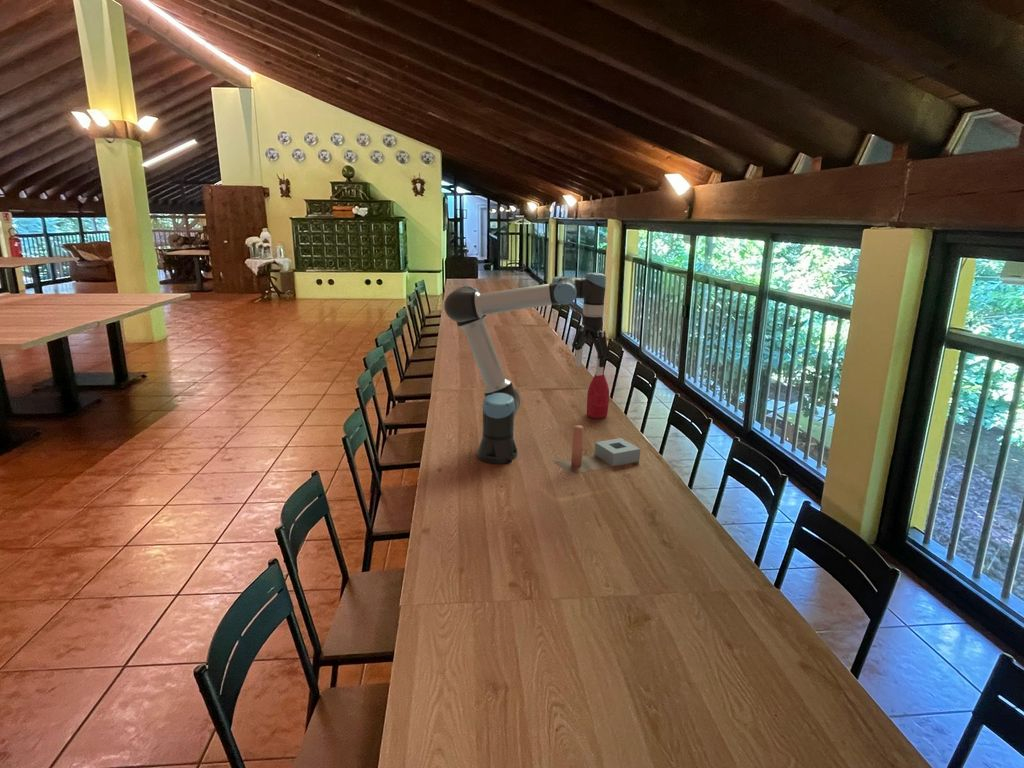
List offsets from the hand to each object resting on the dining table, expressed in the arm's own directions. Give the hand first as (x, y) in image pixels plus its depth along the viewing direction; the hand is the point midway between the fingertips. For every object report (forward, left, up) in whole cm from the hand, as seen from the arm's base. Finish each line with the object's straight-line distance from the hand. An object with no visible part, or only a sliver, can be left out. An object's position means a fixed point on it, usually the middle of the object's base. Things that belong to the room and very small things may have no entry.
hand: (588, 370), depth 234 cm
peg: (-12, -14, -31) cm, 36 cm away
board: (-3, -14, -32) cm, 35 cm away
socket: (+6, -14, -32) cm, 36 cm away
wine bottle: (+28, +32, -33) cm, 53 cm away
